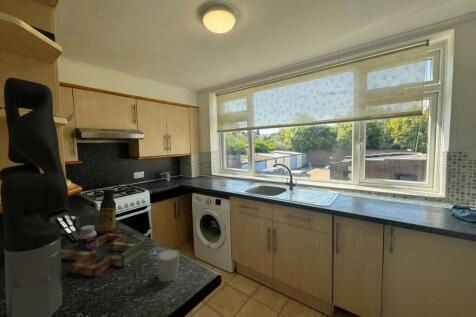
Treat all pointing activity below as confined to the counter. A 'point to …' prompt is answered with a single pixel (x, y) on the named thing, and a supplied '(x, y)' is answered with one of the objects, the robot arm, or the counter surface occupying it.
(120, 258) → the trap channel
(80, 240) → the pill bottle
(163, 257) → the white cup
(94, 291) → the counter surface
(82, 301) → the counter surface
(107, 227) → the sauce bottle
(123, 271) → the counter surface
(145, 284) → the counter surface
